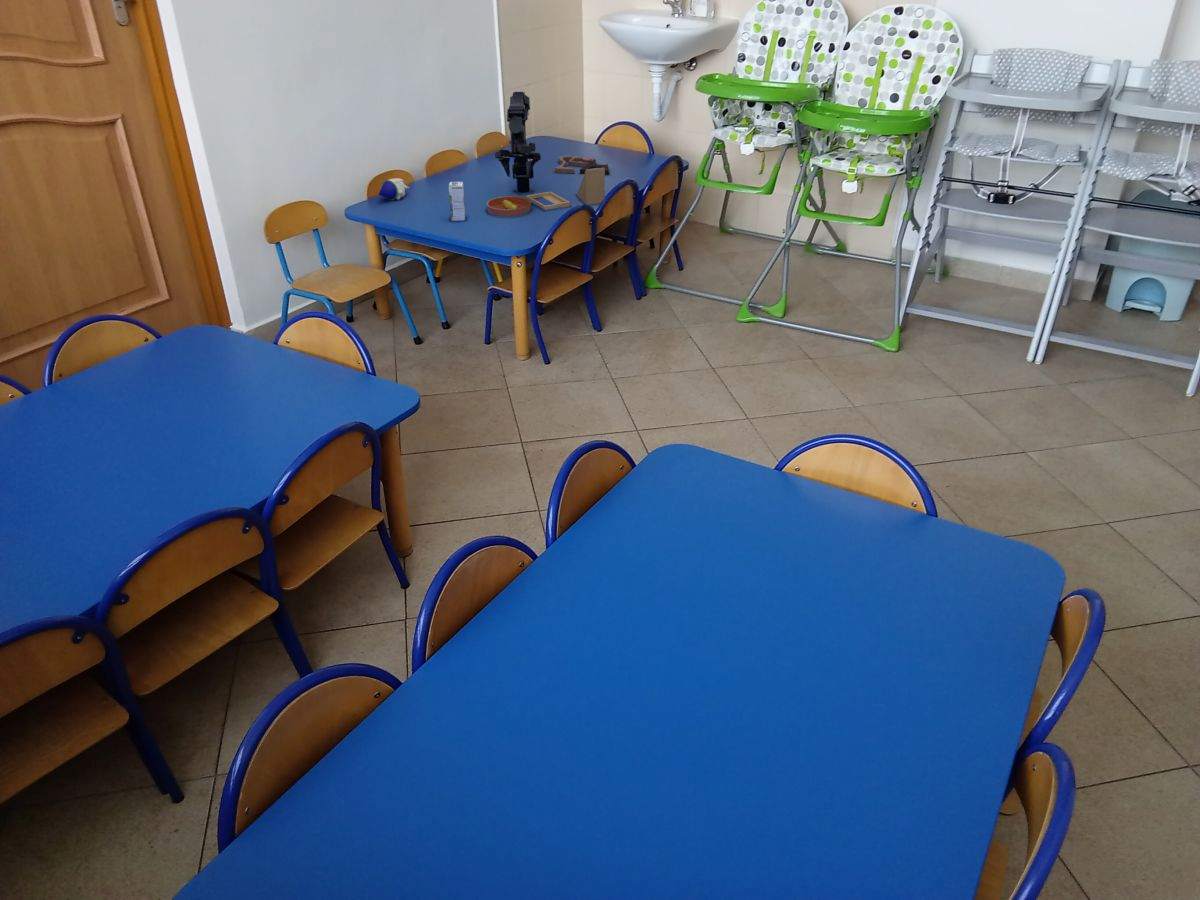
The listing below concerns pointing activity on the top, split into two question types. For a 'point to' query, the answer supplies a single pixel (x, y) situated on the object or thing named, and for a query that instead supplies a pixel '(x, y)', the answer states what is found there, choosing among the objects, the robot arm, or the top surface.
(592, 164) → the wood carving
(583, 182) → the sandwich container
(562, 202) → the tray
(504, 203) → the banana
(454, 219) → the syrup box
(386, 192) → the cartoon head
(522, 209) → the bowl
